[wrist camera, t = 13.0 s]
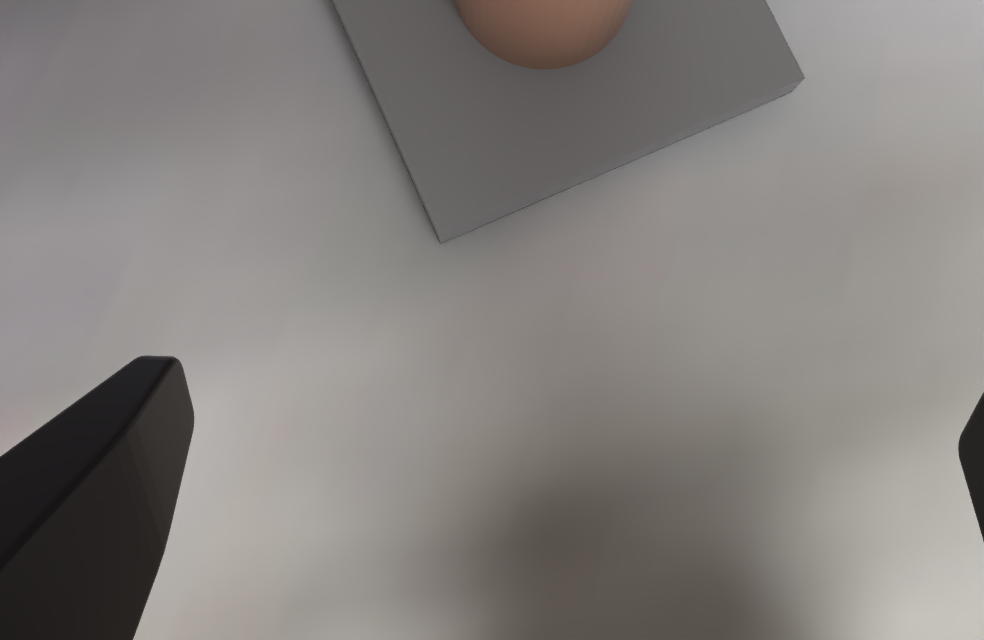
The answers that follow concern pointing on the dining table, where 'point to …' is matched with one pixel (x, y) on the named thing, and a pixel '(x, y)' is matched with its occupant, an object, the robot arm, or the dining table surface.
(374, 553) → the dining table surface
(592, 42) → the terracotta cylinder
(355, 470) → the dining table surface
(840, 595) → the dining table surface
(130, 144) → the dining table surface
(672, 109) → the mat
